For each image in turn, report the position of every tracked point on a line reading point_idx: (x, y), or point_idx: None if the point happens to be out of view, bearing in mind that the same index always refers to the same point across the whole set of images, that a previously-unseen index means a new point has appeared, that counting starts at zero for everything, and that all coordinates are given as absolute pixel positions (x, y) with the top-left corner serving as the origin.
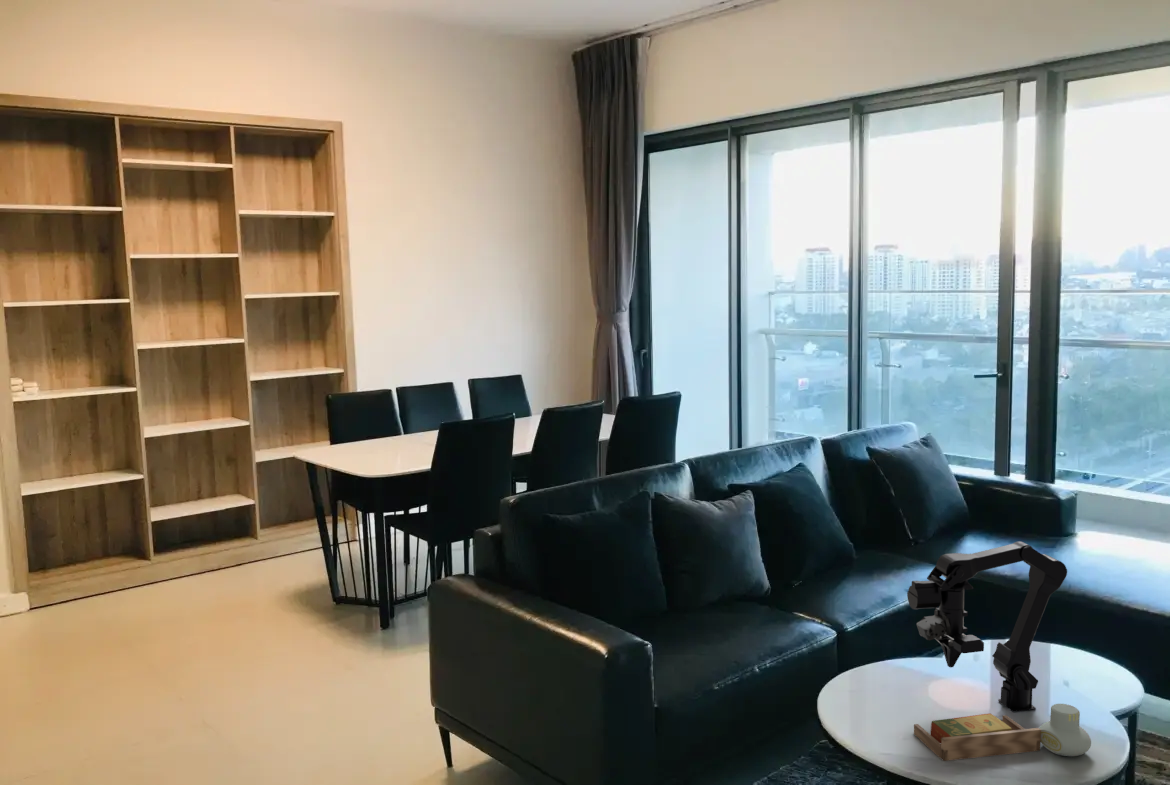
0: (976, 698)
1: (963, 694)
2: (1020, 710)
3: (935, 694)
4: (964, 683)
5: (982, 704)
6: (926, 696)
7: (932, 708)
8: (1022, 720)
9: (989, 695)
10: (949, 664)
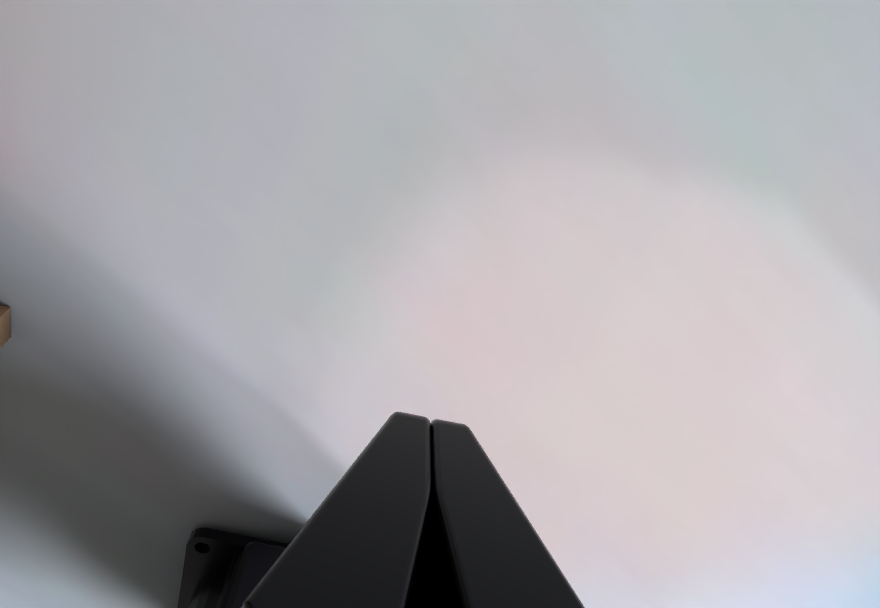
0: None
1: (609, 463)
2: (184, 570)
3: (759, 279)
4: (736, 589)
5: None
6: (790, 172)
7: (558, 4)
8: (62, 485)
9: None
10: (375, 445)
